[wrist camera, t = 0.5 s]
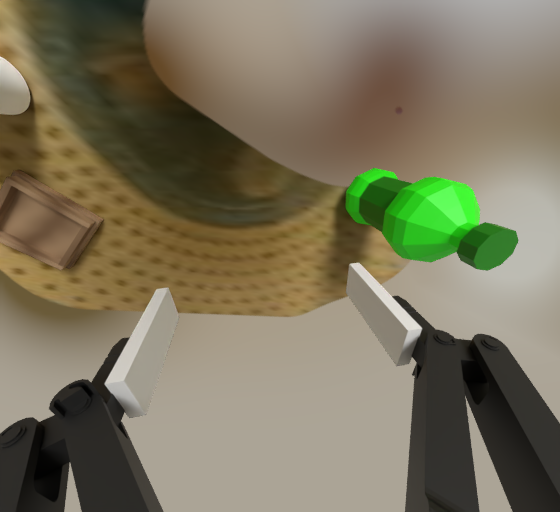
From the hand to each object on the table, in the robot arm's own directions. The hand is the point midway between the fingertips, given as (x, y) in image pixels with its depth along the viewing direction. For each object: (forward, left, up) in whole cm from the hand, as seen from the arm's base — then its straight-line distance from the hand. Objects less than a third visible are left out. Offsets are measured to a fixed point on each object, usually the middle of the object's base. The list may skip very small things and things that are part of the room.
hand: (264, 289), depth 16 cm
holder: (+1, -33, -26) cm, 42 cm away
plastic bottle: (0, +21, -27) cm, 34 cm away
